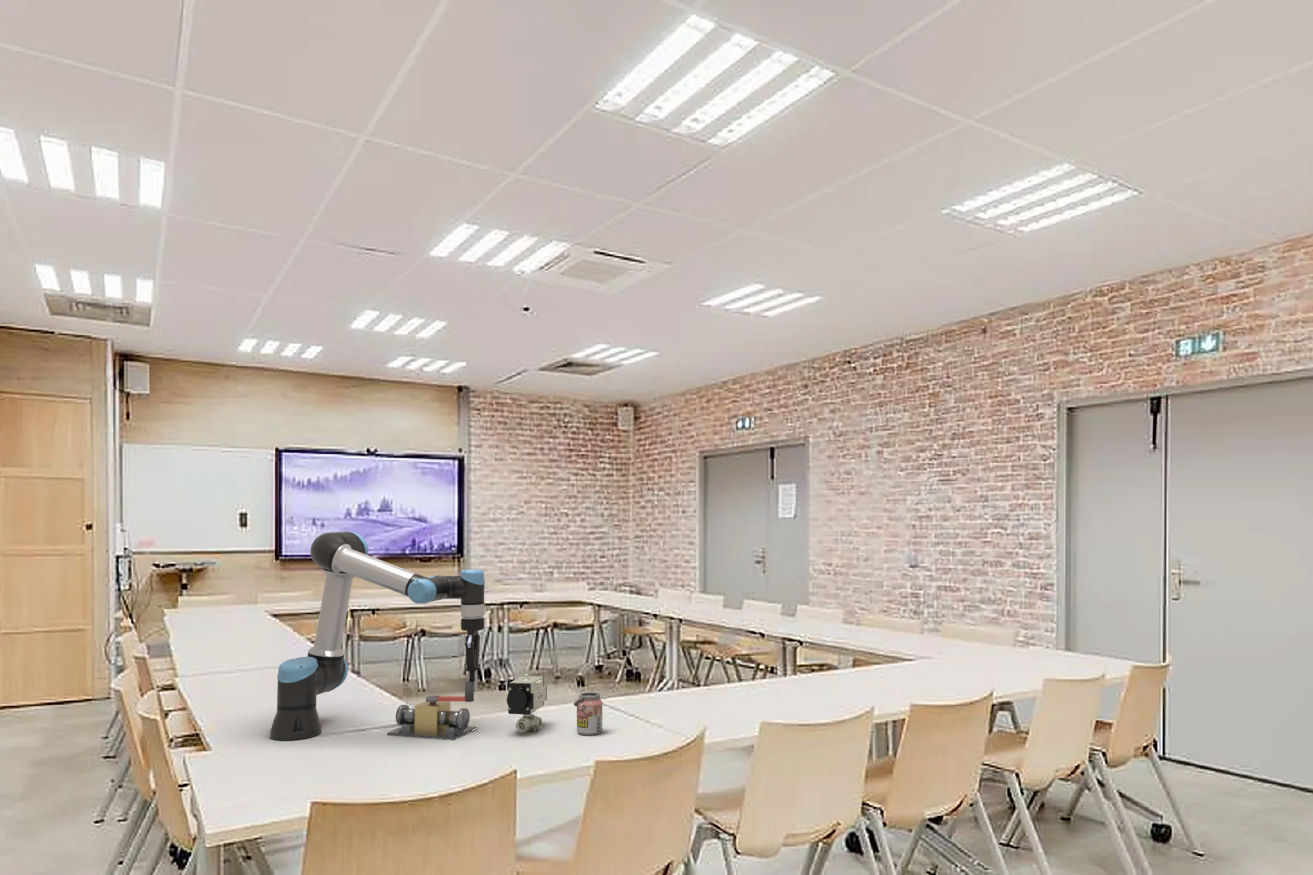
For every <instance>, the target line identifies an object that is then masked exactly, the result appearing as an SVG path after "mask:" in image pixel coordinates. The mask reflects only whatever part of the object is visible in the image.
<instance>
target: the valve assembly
mask: <svg viewBox="0 0 1313 875" xmlns="http://www.w3.org/2000/svg"><path fill="white" fill-rule="evenodd" d="M470 719H471V714H470V711H469V709H468V708H466V707H465V708H464V707H463V708H462V707H461V708H460V709H459V710H451V701H437V702H426V701H424V702H420V703H417V704H415V706H414V708H413V707H410V706H409V705H407V704H401V705H399V706H398V707H397V709H396V712H395V722H396V724H397V725H398V726H401V727H398V728H394V729H392V730H390V731H388V732H387V734H386V735H387V736H395V737H404V738H405V737H407V738H420V739H421V738H422V739H432V738H433V739H434V738H435V739H434V740H446V739H451V740H450V741H455V740H457V739H456V738H458V737H460V738H462V737H464V736H465V734H466V733H468V732H470V733H472V732H473V731H472V730H473V729H475V728H478V727H477V726H471V725H470V726H469V724H470ZM471 731H472V732H471ZM468 734H469V733H468ZM463 735H464V736H463ZM466 735H467V734H466ZM461 736H462V737H461ZM436 738H437V739H436ZM438 738H439V739H438ZM440 738H441V739H440ZM458 739H459V738H458Z"/></svg>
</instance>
